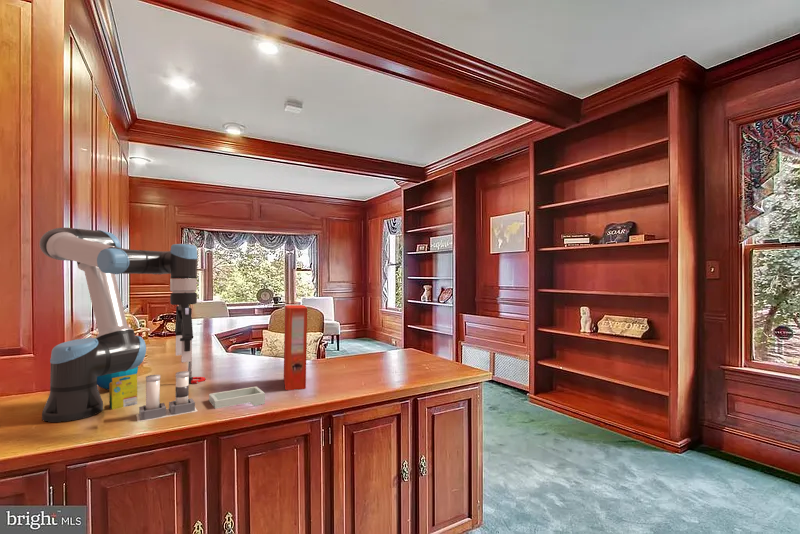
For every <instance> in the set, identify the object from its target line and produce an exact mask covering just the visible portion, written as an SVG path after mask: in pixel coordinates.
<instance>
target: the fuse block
mask: <svg viewBox="0 0 800 534" xmlns="http://www.w3.org/2000/svg"><path fill="white" fill-rule="evenodd" d="M175 404H176V400H172V401H169V402H168V408H167V407H166V404H165V402H161V403H159V408H158V409H152V410H146V404H145V405H142V406H139V407H138V408H139V410H138V413H136V414H135V415H136V420H137V421H136V422H137V423H140V422H145V421H151V420H158V419H163V418H164V419H165V418H168V417H174V416H175V417H176V416H180V415H185V414H190V413H191V414H192V413H197V412H198V409H197V408H196V402H195V401H194V399H193V398H191V397H190V398H188V403H187V404H181V405H176V406H175Z"/></svg>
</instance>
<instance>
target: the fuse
mask: <svg viewBox="0 0 800 534" xmlns="http://www.w3.org/2000/svg"><path fill="white" fill-rule="evenodd" d="M145 382H146V383H145V405H146V410H152V409H158V408H159V403H160V402H161V401H160V397H161V396H160V392H161V389H160V388H161V374H151V375H150V374H149V375H147V376H145Z"/></svg>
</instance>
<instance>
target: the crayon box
mask: <svg viewBox="0 0 800 534" xmlns="http://www.w3.org/2000/svg"><path fill="white" fill-rule="evenodd" d="M124 377H126V378H127V377H130V379H126V380H121V381H120V380H119V379H122V378H124ZM108 394H109V396H108V397H109V399H108V401H109V403H108V404H109V405H108V407H109V408H108V409H110V410H111V411H112V410H117V409H123V408H126V407H130V406H136V405H138V373H137V374H133V375H127V376H121V377H116V378H112V382H111V383H109V393H108Z"/></svg>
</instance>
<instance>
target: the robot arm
mask: <svg viewBox="0 0 800 534" xmlns="http://www.w3.org/2000/svg"><path fill="white" fill-rule="evenodd" d="M39 248H40V250H41V252H42V253H43V255H45V256H47V257H49V258H51V259H54V260H58V261H70V262H71V261H73V262H76V264H77V268H78V269H79V270H81V271H83V272H84V275H85V279H86V283H87V288H88V292H89V293H88V294H89V297H90V301H91V305H92V309H93V315H94V318H95V323H96V327H97V332H98V334H97V335H96V336H95V337H87V338H86V337H85V338H84V337H83V338H80V339H79V338H78V339H71V340H68V341H64V342H61V343H59V344H56V345H55V346H54V347H53V348H52V350H51V352H50V353H51V354H50V359H49V362H50V374H49V375H50V376H49V378H50V382H49V383H50V386H49V394H48V397H47V399H46V402H45V404H44V407H43V409H42V412H41V420H42V421H43V420H44V421H43V422H45V421H48V422H47V423H61V421H64V422H70V421H71V420H72V421H75V420H81V419H85V418H88V417H92V416H95V415H97V414H99V413H101V412H102V411H103V410H104V402H103V399H102V396H101V394H100V391H99V389H98V385H97V377H98V376H102V375H107V374H112V373H116V372H121V371H127V370H130V369H134V368H136V367H138V368H139V366H140V365H141V364H142V363H143V362H144V360H145V357H146V353H147V345H146V342H145V339H144V338H143V337H142V336H140V335H136V333H135V329H133V328H131V327H129V325H128V322H127V318H126V315H125V310H124V305H123V303H122V297H121V293H120V290H119V285H118V281H117V277H116V275H121V274H122V275H126V274H127V275H128V274H130V275H133V274H136V275H168V274H169V275H170V282H169V283H170V284H169V285H170V286H169V290H170V292H171V293H170V299H169V301H170V305H174V306H175V305H176V307H175V324H174V327H175V328H174V332H175V356H176V357H177V356H181V363H189V362H190V361H192V362H193V339H194V331H193V319H192V317H193V316H192V311H193V310H192V308H191V307H190V305H196V304H197V302H198V293H197V292H196V291H197V289H198V287H197V286H198V285H199V284H200V282H199V281H198V279H197V278H198V249H197V246H196V245H194V244H188V243H174V244H171V247H170V250H168V251H162V250H146V249H130V248H129V249H128V248H122V245H121V241H120V240H119V238H118V237H117V236H116V235H115V234H114V233H112V232H109V231H104V230H101V229H100V230H99V229H96V230H95V229H93V230H92V229H85V228H75V227H73V228H72V227H56V228H53V229H50V230H47V232H45V233H43V235H41V237H40V240H39Z"/></svg>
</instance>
